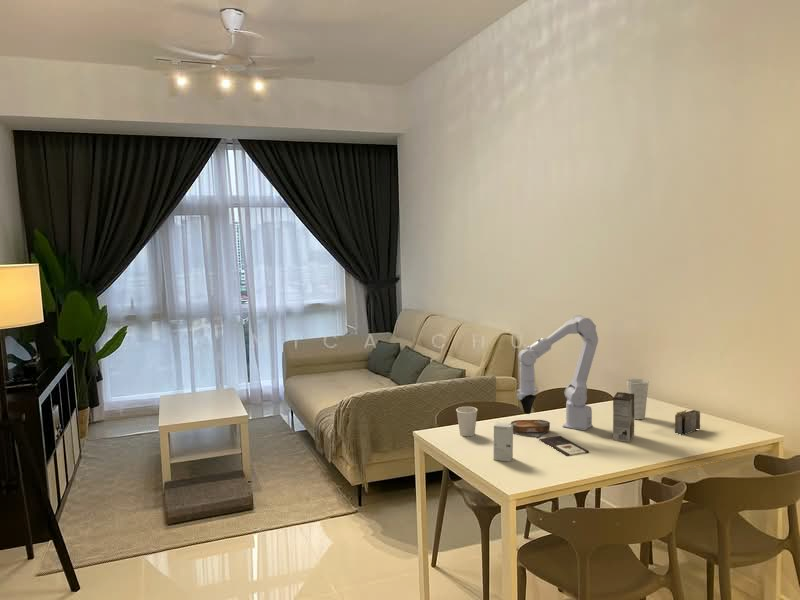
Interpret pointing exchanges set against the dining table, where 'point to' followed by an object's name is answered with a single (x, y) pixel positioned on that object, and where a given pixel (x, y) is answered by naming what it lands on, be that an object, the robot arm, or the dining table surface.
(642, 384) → the cup
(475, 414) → the dixie cup
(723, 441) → the dining table surface
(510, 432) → the skincare box
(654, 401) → the dining table surface
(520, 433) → the mat
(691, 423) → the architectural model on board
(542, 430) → the tin
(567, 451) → the chocolate bar
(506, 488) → the dining table surface
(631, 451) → the dining table surface
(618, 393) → the coffee box
